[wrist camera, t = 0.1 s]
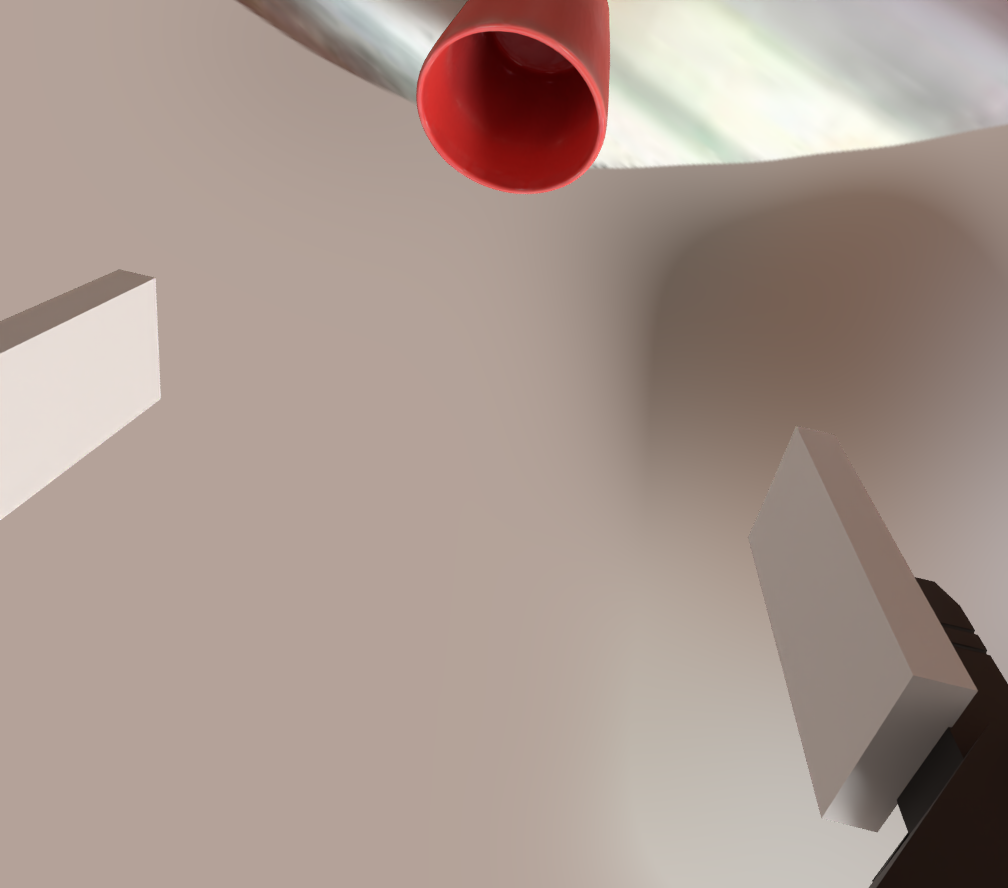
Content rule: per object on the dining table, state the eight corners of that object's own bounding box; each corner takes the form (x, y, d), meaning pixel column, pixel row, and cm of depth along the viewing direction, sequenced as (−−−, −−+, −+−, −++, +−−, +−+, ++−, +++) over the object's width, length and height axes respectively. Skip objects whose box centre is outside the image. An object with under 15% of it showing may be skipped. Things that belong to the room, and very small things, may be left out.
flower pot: (423, -3, 46) (375, 103, 42) (551, -133, 38) (508, -19, 34) (539, 117, 52) (507, 221, 47) (671, 26, 44) (647, 140, 39)
